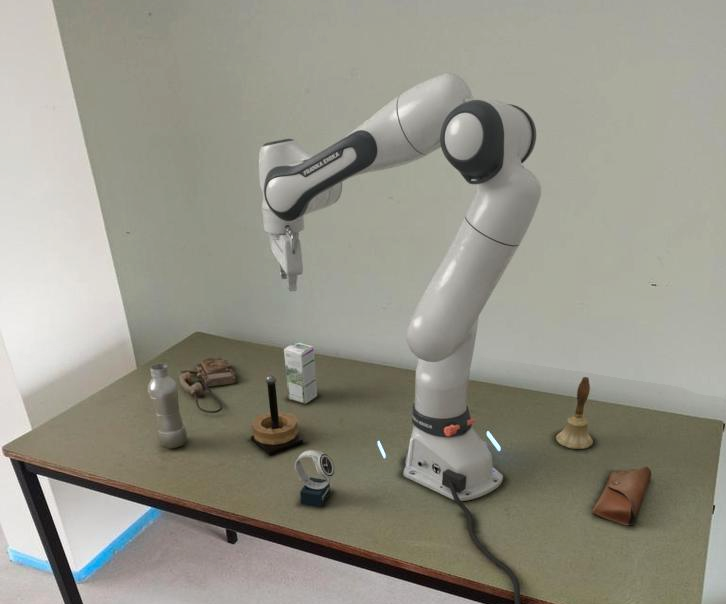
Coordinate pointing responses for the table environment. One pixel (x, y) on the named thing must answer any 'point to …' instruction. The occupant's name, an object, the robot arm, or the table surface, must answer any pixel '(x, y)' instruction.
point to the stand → (275, 423)
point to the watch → (314, 487)
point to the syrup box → (300, 372)
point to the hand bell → (577, 422)
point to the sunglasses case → (623, 495)
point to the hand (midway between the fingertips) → (288, 284)
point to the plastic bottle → (166, 407)
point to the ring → (275, 435)
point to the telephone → (208, 378)
